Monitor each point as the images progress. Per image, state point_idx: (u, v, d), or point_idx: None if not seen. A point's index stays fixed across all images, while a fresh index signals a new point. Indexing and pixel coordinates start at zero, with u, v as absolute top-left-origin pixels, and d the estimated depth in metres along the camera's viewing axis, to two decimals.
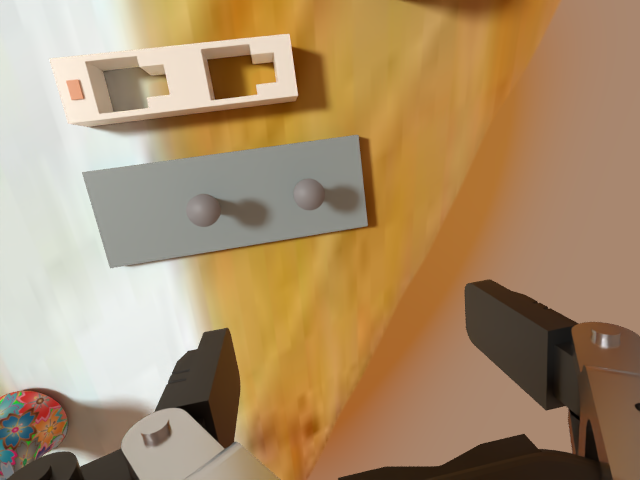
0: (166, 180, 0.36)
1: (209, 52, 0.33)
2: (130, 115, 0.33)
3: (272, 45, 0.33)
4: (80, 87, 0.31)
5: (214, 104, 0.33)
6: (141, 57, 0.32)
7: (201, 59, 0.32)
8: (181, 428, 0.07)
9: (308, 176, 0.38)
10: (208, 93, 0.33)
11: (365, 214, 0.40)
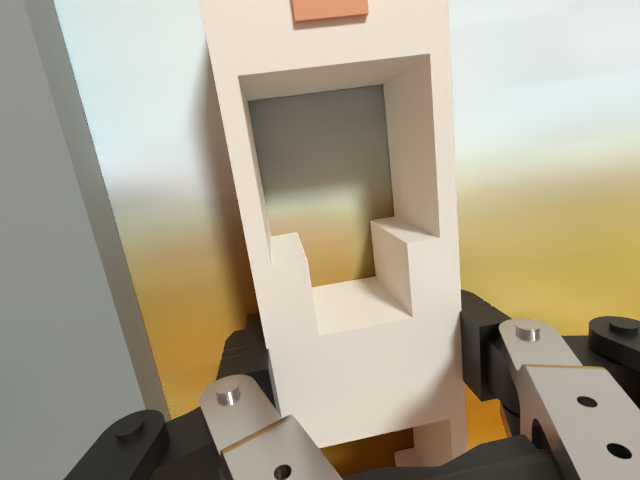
0: (28, 268, 0.10)
1: None
2: (240, 197, 0.08)
3: None
4: (337, 17, 0.08)
5: None
6: (434, 252, 0.09)
7: (422, 421, 0.10)
8: (251, 390, 0.07)
9: None
10: (325, 442, 0.10)
11: None
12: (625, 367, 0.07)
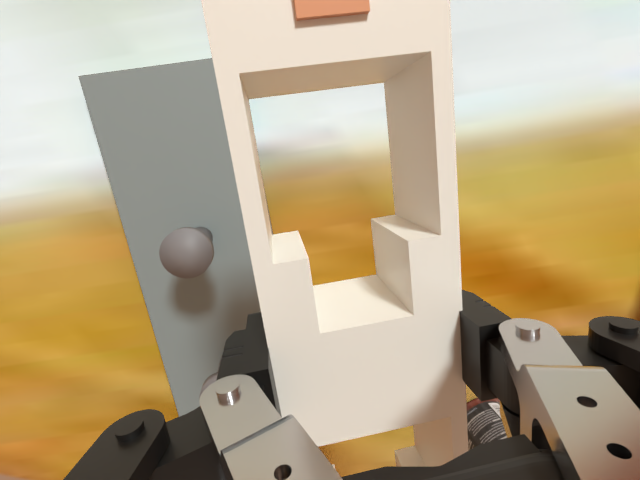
0: (233, 177, 0.25)
1: None
2: (241, 194, 0.08)
3: None
4: (338, 15, 0.08)
5: None
6: (435, 250, 0.09)
7: (423, 419, 0.10)
8: (251, 390, 0.07)
9: None
10: (326, 440, 0.10)
11: None
12: (625, 367, 0.07)
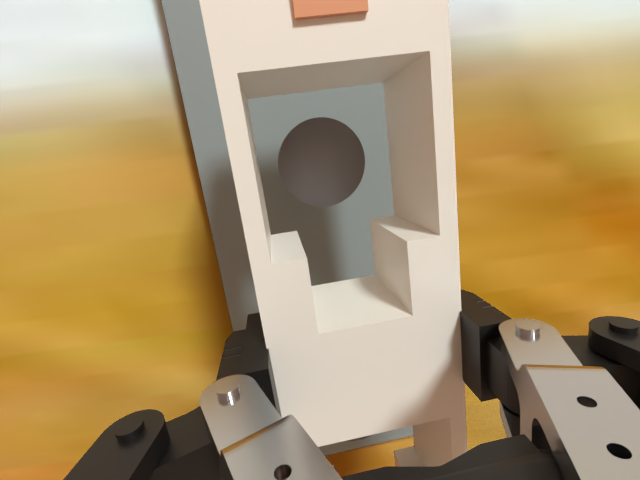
0: None
1: None
2: (239, 194, 0.08)
3: None
4: (336, 15, 0.08)
5: None
6: (434, 250, 0.09)
7: (422, 419, 0.10)
8: (251, 390, 0.07)
9: None
10: (325, 441, 0.10)
11: None
12: (625, 367, 0.07)
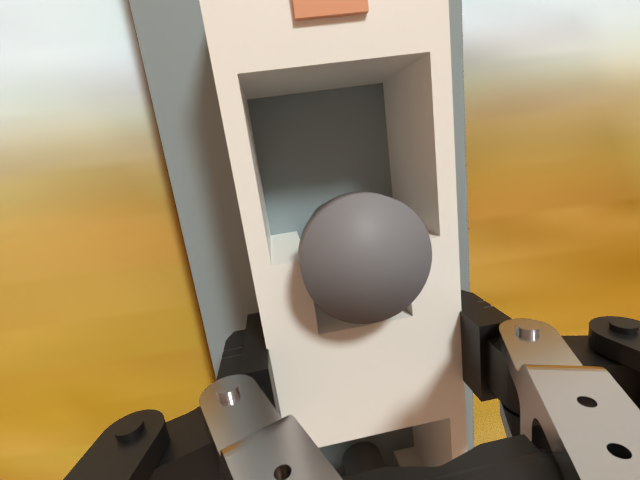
0: None
1: None
2: (239, 195, 0.08)
3: None
4: (337, 15, 0.08)
5: None
6: (434, 251, 0.09)
7: (422, 420, 0.10)
8: (251, 390, 0.07)
9: None
10: (325, 441, 0.10)
11: None
12: (625, 367, 0.07)
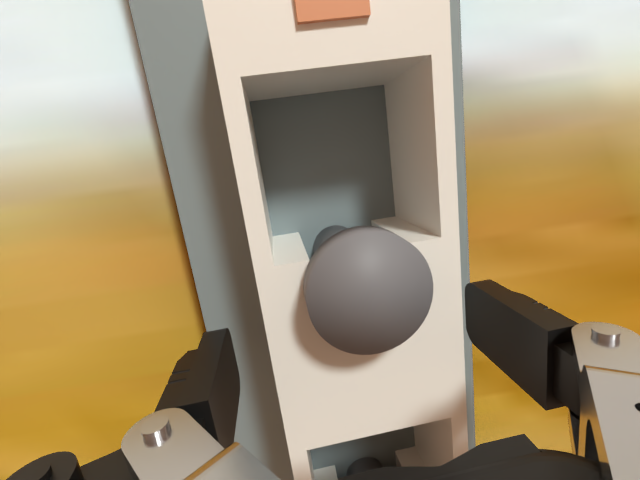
0: None
1: None
2: (242, 197, 0.08)
3: None
4: (339, 19, 0.08)
5: (294, 460, 0.10)
6: (436, 252, 0.09)
7: (423, 420, 0.11)
8: (181, 428, 0.07)
9: None
10: (327, 441, 0.10)
11: None
12: None
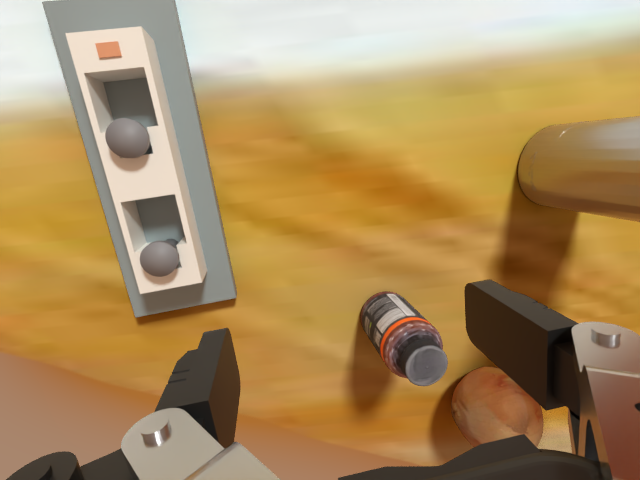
0: (169, 91, 0.31)
1: None
2: (88, 109, 0.28)
3: (188, 266, 0.32)
4: (112, 56, 0.27)
5: (116, 206, 0.30)
6: (157, 130, 0.29)
7: (164, 194, 0.30)
8: (181, 428, 0.07)
9: None
10: (128, 200, 0.30)
11: (149, 313, 0.36)
12: None
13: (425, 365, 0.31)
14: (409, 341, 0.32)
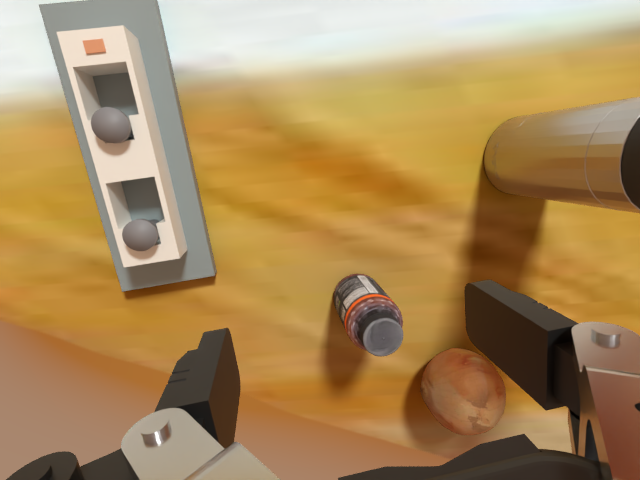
0: (152, 84, 0.35)
1: None
2: (77, 99, 0.31)
3: (167, 243, 0.35)
4: (98, 52, 0.30)
5: (102, 186, 0.33)
6: (138, 118, 0.32)
7: (144, 176, 0.33)
8: (181, 428, 0.07)
9: None
10: (112, 181, 0.33)
11: (134, 288, 0.39)
12: None
13: (381, 336, 0.33)
14: (368, 314, 0.34)
